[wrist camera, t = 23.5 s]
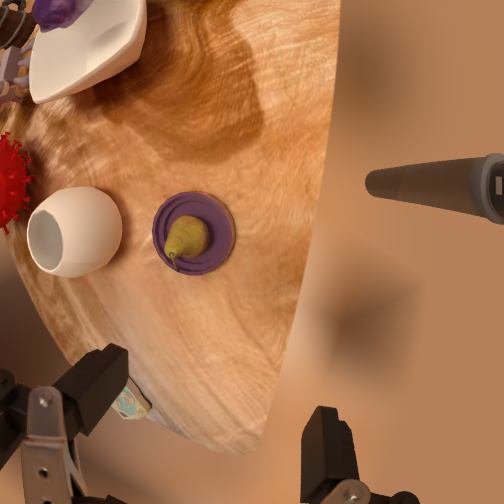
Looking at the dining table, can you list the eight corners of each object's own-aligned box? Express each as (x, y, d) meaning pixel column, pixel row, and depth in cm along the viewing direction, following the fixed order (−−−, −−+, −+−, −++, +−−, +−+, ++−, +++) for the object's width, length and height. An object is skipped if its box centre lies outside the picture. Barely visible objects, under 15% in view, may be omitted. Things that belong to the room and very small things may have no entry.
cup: (92, 170, 39) (34, 170, 26) (146, 214, 40) (92, 228, 27) (65, 233, 42) (11, 249, 29) (112, 278, 43) (62, 309, 30)
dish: (243, 201, 38) (240, 202, 35) (225, 278, 41) (221, 285, 38) (168, 184, 38) (160, 184, 36) (155, 258, 41) (147, 262, 38)
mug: (26, 46, 34) (-14, 33, 19) (5, 56, 34) (-32, 47, 20) (49, -2, 30) (15, -20, 15) (25, 11, 30) (-7, -2, 16)
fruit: (210, 209, 38) (178, 220, 26) (217, 250, 39) (189, 277, 28) (173, 216, 39) (131, 229, 27) (181, 255, 40) (143, 281, 28)
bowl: (167, -12, 30) (142, -46, 18) (181, 76, 34) (147, 45, 23) (71, 38, 33) (35, 21, 22) (71, 128, 38) (25, 120, 26)
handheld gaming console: (119, 423, 48) (78, 371, 47) (124, 415, 51) (84, 365, 50) (151, 417, 46) (104, 359, 44) (156, 408, 49) (112, 353, 47)
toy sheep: (43, 124, 38) (-8, 118, 25) (16, 137, 39) (-30, 135, 26) (57, 42, 33) (16, 24, 20) (28, 60, 35) (-11, 48, 21)
